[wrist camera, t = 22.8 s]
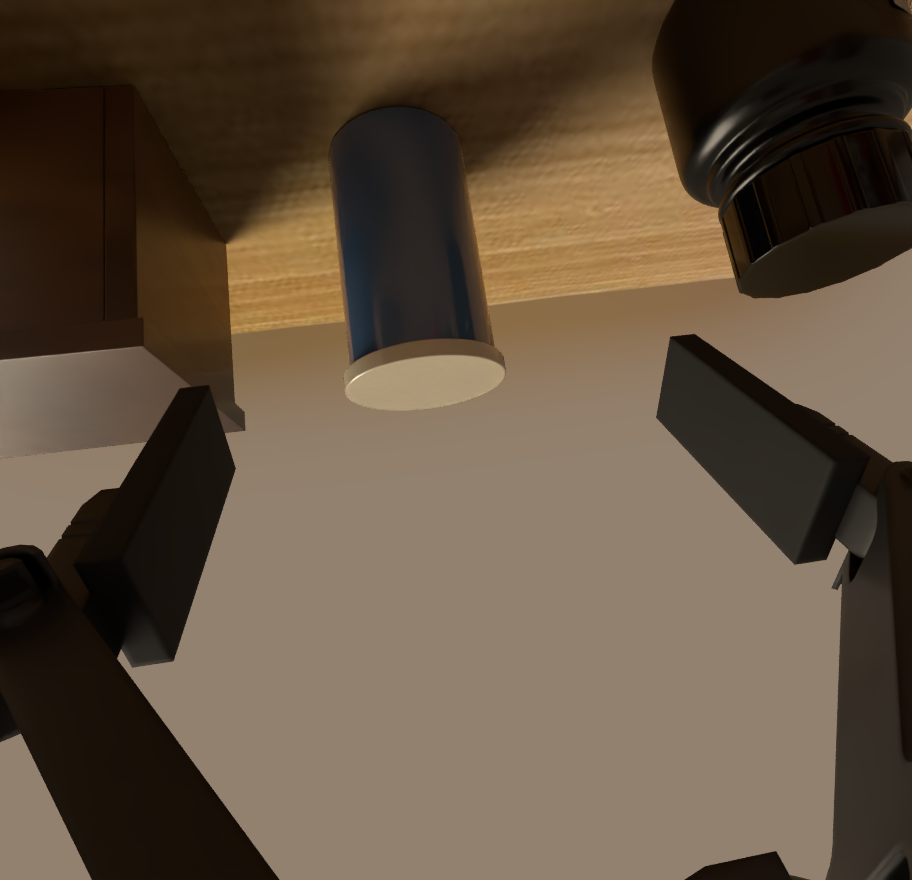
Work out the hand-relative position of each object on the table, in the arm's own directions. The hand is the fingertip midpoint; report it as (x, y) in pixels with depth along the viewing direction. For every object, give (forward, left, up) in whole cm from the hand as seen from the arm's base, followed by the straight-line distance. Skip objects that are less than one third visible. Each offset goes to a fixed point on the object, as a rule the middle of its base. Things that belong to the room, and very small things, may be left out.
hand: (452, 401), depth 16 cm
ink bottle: (+16, -3, -17) cm, 24 cm away
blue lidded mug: (0, -12, -17) cm, 21 cm away
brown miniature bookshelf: (-18, -11, -17) cm, 27 cm away
